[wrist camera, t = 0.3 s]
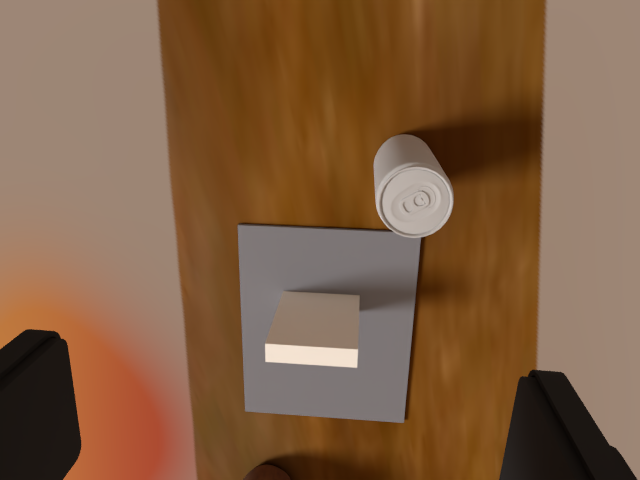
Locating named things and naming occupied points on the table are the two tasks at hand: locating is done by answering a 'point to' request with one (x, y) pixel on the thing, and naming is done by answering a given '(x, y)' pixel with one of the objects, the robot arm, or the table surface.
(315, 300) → the tile
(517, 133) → the table surface
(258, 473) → the wooden figurine
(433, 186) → the beverage can
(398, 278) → the mat
